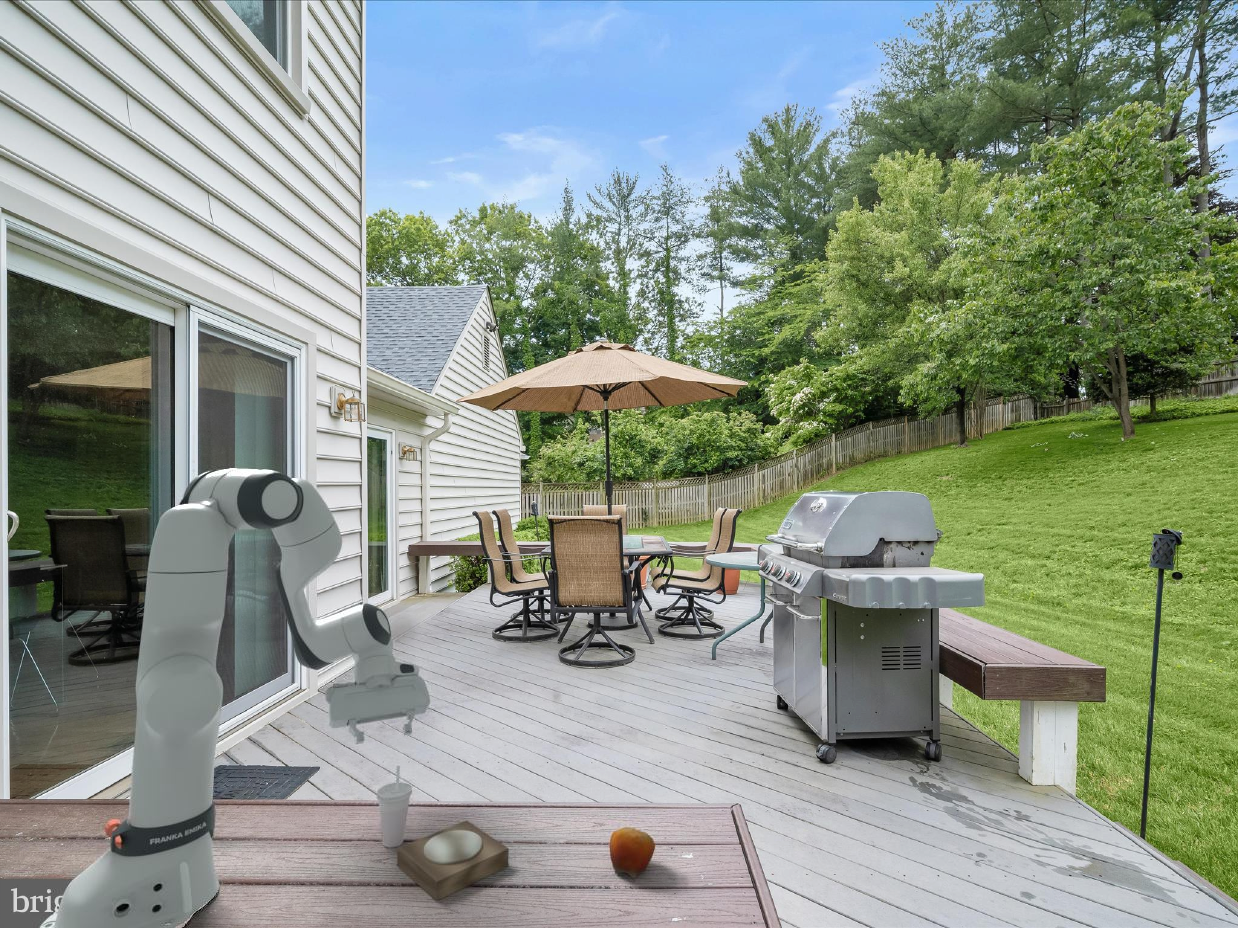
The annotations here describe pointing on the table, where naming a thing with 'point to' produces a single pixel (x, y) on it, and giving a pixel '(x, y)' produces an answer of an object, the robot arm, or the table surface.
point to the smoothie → (394, 811)
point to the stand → (452, 859)
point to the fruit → (631, 850)
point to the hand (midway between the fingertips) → (384, 737)
